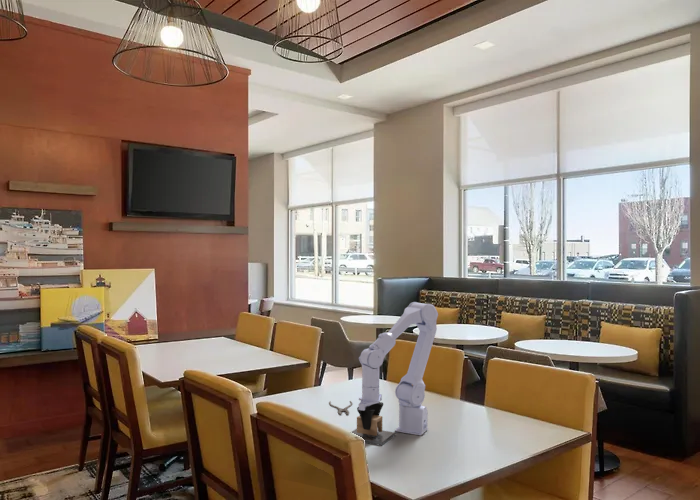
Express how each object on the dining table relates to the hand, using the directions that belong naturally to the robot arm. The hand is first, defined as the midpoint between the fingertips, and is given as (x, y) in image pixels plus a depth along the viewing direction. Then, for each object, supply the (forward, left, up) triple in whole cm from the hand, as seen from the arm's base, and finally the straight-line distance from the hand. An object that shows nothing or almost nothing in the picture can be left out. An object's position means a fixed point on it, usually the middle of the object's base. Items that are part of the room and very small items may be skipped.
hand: (370, 426), depth 177 cm
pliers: (+23, -27, -4) cm, 36 cm away
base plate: (0, 0, -3) cm, 3 cm away
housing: (0, 0, -2) cm, 2 cm away
